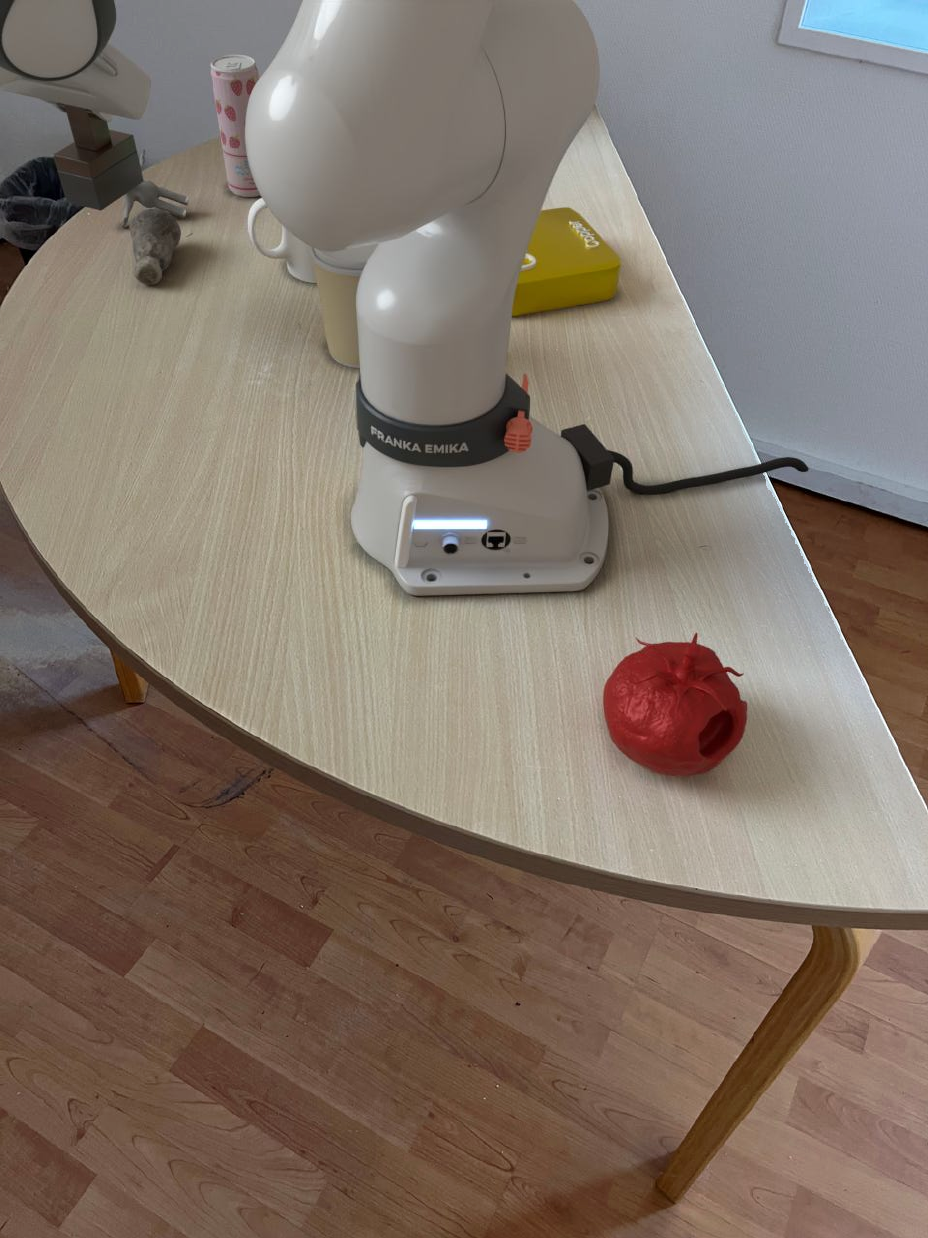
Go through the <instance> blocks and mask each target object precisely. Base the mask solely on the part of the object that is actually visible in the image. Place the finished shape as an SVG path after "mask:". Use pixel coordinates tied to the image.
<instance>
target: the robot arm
mask: <svg viewBox="0 0 928 1238" xmlns="http://www.w3.org/2000/svg"><path fill="white" fill-rule="evenodd" d="M116 24H117V8H116V2H115V0H0V91H3V92H8V93H12V94H16V95H21V96H25V97H30V98H35V99H38V100H41V101H43V102H45V103H47V104H50V105H52V106H53V107H54V108H56V109H57V110H58V111H60V112H61V113H66V109H65V105H64V104H66V105H71V106H75V107H80V108H84V109H87V111H86V112H87V113H89V114H90V115H91V116H93V117H94V118H95V119H98V120H102V121H106V122H107V123H111V122H112V121H113V118H114V116H117V117H122V118H125V119H130V120H135V121H139V120H141V119H142V118H143V117H144V114H145V113H146V110H147V106H148V103H149V100H150V95H151V91H152V90H151V89H152V80H151V77H150V75H149V74H148V73H147V72H146V71H145V70H144V69H142V68H141V67H140V66H139V65H138V64H137V63H135V62H134V61H133V60H132V59H131V58H130V57H128V56H127V55H125V54H124V53H123V52H121V50H119V49H118V48H117V47H115V46H114V45H112V44H111V43H109V41H110V40H111V37H112V35H113V33H114V31H115V27H116ZM600 73H601V69H600V56H599V51H598V46H597V42H596V38H595V35H594V32H593V29H592V28H591V25H590V23H589V21H588V19H587V18H586V16H585V14H584V13H583V11H582V9H581V7H579V6H578V5H577V3H576V2H575V1H574V0H302V1H301V4H300V6H299V9H298V11H297V14H296V17H295V19H294V22H293V23H292V26H291V28H290V29H289V32H288V33H287V36H286V38H285V40H284V41H283V43H282V45H281V46H280V48H279V51H278V52H277V53H276V55H275V56H274V58H273V60H272V61H271V62H270V64H269V65H268V67H267V68H266V69H265V71H264V72H263V73H262V75H261V76H260V77H259V80H258V82H257V83H256V85H255V86H254V88H253V90H252V93H251V95H250V98H249V102H248V106H247V113H246V120H245V143H246V153H247V158H248V163H249V166H250V170H251V173H252V176H253V179H254V182H255V184H256V187H257V189H258V191H259V193H260V195H261V196H260V198H263V200H264V202H265V203H266V205H267V209H268V210H269V211H270V213H271V214H272V215H273V216H274V217H275V219H276V220H277V221H278V222H279V224H280V225H281V226H282V225H283V226H284V227H285V228H286V229H287V230H288V231H289V232H290V233H292V234H293V235H294V236H295V237H297V238H298V239H300V240H301V241H303V242H304V243H306V244H307V245H309V246H311V247H313V248H316V249H318V250H322V251H328V252H335V251H341V250H347V249H352V248H358V247H364V246H369V245H373V244H378V243H379V244H378V246H377V247H376V249H375V250H374V252H373V253H372V255H371V256H370V258H369V259H368V261H367V263H366V265H365V267H364V269H363V271H362V274H361V277H360V280H359V283H358V287H357V293H356V313H357V327H358V343H359V359H360V369H359V375H358V379H357V381H356V383H355V391H354V411H355V423H356V430H357V432H358V439H359V441H358V442H359V445H360V447H361V461H360V462H361V464H360V473H359V479H358V486H357V490H356V495H355V497H354V501H353V504H352V507H351V511H350V512H351V513H350V525H351V530H352V533H353V535H354V537H355V539H356V541H357V543H358V544H359V546H360V547H361V548H362V549H363V551H365V552H366V553H367V555H369V556H370V557H371V558H373V559H374V560H376V561H377V562H378V563H380V564H382V565H383V566H384V567H386V568H387V569H388V570H389V571H390V572H391V573H392V574H393V577H394V578H395V580H396V581H397V583H398V585H399V586H400V587H401V589H402V590H403V591H404V592H406V593H407V594H409V595H411V596H417V597H419V596H421V597H422V596H423V597H425V596H456V595H457V596H458V595H459V596H460V595H484V594H485V595H486V594H487V595H488V594H490V595H491V594H519V593H520V594H521V593H522V594H525V593H553V592H555V593H556V592H558V593H559V592H577V591H583V590H584V589H586V588H587V587H588V586H589V585H590V584H592V582H594V580H595V579H596V577H597V576H598V574H600V571H601V569H602V568H603V565H604V562H605V559H606V554H607V549H608V541H609V511H608V508H607V503H606V500H605V497H604V495H603V493H602V491H601V489H600V488H603V487H606V486H609V485H610V484H611V480H612V473H613V468H614V464H617V465H618V466H619V467H620V468H621V470H622V483H623V484H624V487H625V488H626V489H627V490H628V491H630V492H632V493H634V494H637V495H640V496H654V495H655V496H656V495H664V494H669V493H673V492H678V491H682V490H687V489H692V488H700V487H707V486H712V485H716V484H722V483H725V482H729V481H735V480H739V479H743V478H751V477H754V476H758V475H762V474H765V473H768V472H771V471H775V470H778V469H782V468H793V469H795V470H796V471H798V472H800V473H807V472H809V467H808V465H807V464H806V463H805V462H804V461H803V460H801V459H800V458H797V457H793V456H783V457H778V458H774V459H771V460H768V461H765V462H761V463H758V464H754V465H750V466H744V467H740V468H735V469H730V470H725V471H721V472H717V473H712V474H706V475H701V476H693V477H688V478H687V477H686V478H682V479H677V480H673V481H669V482H668V481H667V482H664V483H660V484H652V485H649V484H648V485H647V484H640V483H638V482H636V481H635V480H634V469H633V464H632V462H631V460H630V459H628V457H627V456H626V455H623V454H621V453H619V452H617V451H614V450H611V449H607V448H606V447H605V446H604V445H603V444H602V442H601V441H600V440H599V439H598V438H597V436H596V435H595V434H594V433H593V431H592V430H591V429H590V428H589V427H588V426H587V425H586V424H585V423H582V424H578V425H575V426H571V427H568V428H564V429H561V431H560V435H559V434H558V433H557V432H555V431H553V430H552V429H551V428H548V426H546V425H544V424H543V423H542V422H540V421H539V420H537V419H535V418H534V417H532V416H531V415H530V413H531V396H530V394H529V393H528V392H529V379H528V375H527V373H525V372H524V373H523V374H522V375H523V377H522V384H521V386H520V384H518V383H517V381H515V380H514V379H513V377H511V376H510V375H509V374H508V373H507V367H508V354H509V345H510V335H511V327H512V326H511V325H512V317H513V316H512V307H513V302H514V296H515V290H516V286H517V282H518V278H519V274H520V271H521V268H522V265H523V261H524V258H525V255H526V252H527V249H528V246H529V243H530V240H531V237H532V235H533V232H534V229H535V226H536V223H537V220H538V218H539V215H540V212H541V210H543V207H544V204H545V201H546V198H547V195H548V193H549V191H550V188H551V185H552V183H553V180H554V178H555V176H556V174H557V171H558V169H559V166H560V164H561V163H562V161H563V159H564V157H565V155H566V154H567V152H568V149H569V148H570V146H571V144H572V143H573V142H574V140H575V138H576V137H577V135H578V134H579V133H580V131H581V130H582V128H583V127H584V126H585V124H586V123H587V121H588V119H589V117H590V116H591V114H592V111H593V110H594V106H595V104H596V100H597V97H598V93H599V88H600V87H599V86H600ZM66 114H67V113H66Z"/></svg>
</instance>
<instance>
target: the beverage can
mask: <svg viewBox="0 0 928 1238" xmlns="http://www.w3.org/2000/svg"><path fill="white" fill-rule="evenodd" d="M210 77H211V84H212V90H213V97H214V103H215V108H216V117H217V121H218V128H219V134H220V141H221V147H222V154H223V160H224V167H225V174H226V180H227V185H228V189H229V190H230V191H231V192H232V193H233V194H234V195H236V196H238V197H243V198H257V197H261V195H260V193H259V191H258V189H257V187H256V184H255V182H254V179H253V176H252V173H251V170H250V166H249V163H248V158H247V153H246V143H245V120H246V113H247V106H248V102H249V98H250V95H251V93H252V90H253V88H254V86H255V85H256V83H257V82H258V80H259V79H260V76H259V69H258V67H257V63H256V61H255V59H254V58H252V57H250V56H249V55H244V54H225V55H221V56H217V57H215V58H214V59H212V60H211V62H210Z"/></svg>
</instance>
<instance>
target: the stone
mask: <svg viewBox="0 0 928 1238" xmlns="http://www.w3.org/2000/svg"><path fill="white" fill-rule="evenodd" d="M128 227H129V233H130V236H131V239H132V241H131V242H132V249H133V255H134V259H135V262H136V264H135V266H134V270H133V271H134V272H133V274H134V278H135V279H136V280H137V281H138V282H139V283H141V284H143V285H147V286H155V285H157V284H159V283H160V281H161V280H162V279H163V278H162V277H163V271H164V270H166V268H168V267H169V265H170V264H171V261H172V258H173V254H174V253H173V252H174V250H175V248H176V246H178V244H179V242H180V240H181V236H182V229H181V227H180V224H179V223H178V220H177V219H176V218H175V217H174V216H172V215H171V213H170V212H168V211H165V210H162V209H158V208H146V209H143V210H140V211H138V212H137V213H136V214H135V215H134V216H133V217H132V219H131V221H130V223H129V226H128Z"/></svg>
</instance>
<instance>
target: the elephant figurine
mask: <svg viewBox="0 0 928 1238" xmlns="http://www.w3.org/2000/svg"><path fill="white" fill-rule="evenodd" d="M145 156H146V150H145V148H142V152H141V153H140V157H139V162H140V166H141V171H142V172H143V167H144V165H145V162H146V159H145ZM123 196H124V215H123V217H122V224H121V228H125V227H126V224H127V223H128V221H129V217H130V213H131V211H132V209H133V207H134V203H135V202H138V203H139V204H140V205H142V206H143V207H145V208H146V209H154V208H155V209H158V210H163V211H166V212H167V213H170V214H172V215H175V216H177V217H179V218H181V219H185V218H186V217H187V216H186V215H187V211H188V209H185V208H182V207H179V206H177V205H175V204H172V203H169V202H167V201H164V200H162V199H160V197H161V198H164V199H167V200H170V201H173V202H176V203H178V204H181V205H183V206H186V207H187V206H188V204H189V200H190V197H189V196H187V195H183V194H180V193H177V192H174V191H172V190H170V189H167V188H164V187H160V186H158V185H156V183H155V182H153V181H151V180H144V182H142V183H141V184H139V185H138V186H136V187H135V188H134V189H132V190H131V191H129V192H128V193H126V194H125V195H123Z"/></svg>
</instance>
